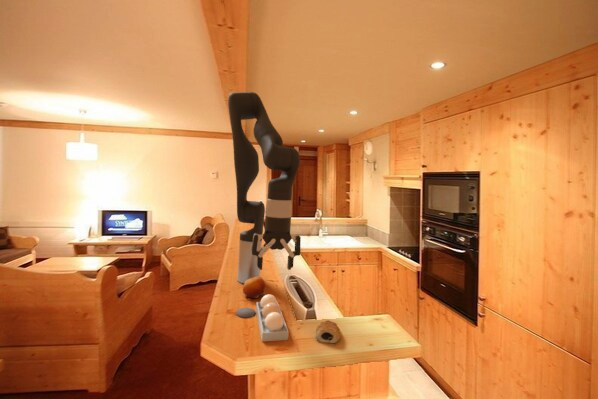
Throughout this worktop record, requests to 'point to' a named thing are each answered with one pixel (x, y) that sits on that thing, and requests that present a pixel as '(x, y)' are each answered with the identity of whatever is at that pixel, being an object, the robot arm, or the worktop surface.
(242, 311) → the mat
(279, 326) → the egg
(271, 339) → the carton
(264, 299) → the egg
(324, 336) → the pastry
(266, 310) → the pale pink ball
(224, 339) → the worktop surface
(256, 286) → the fruit
